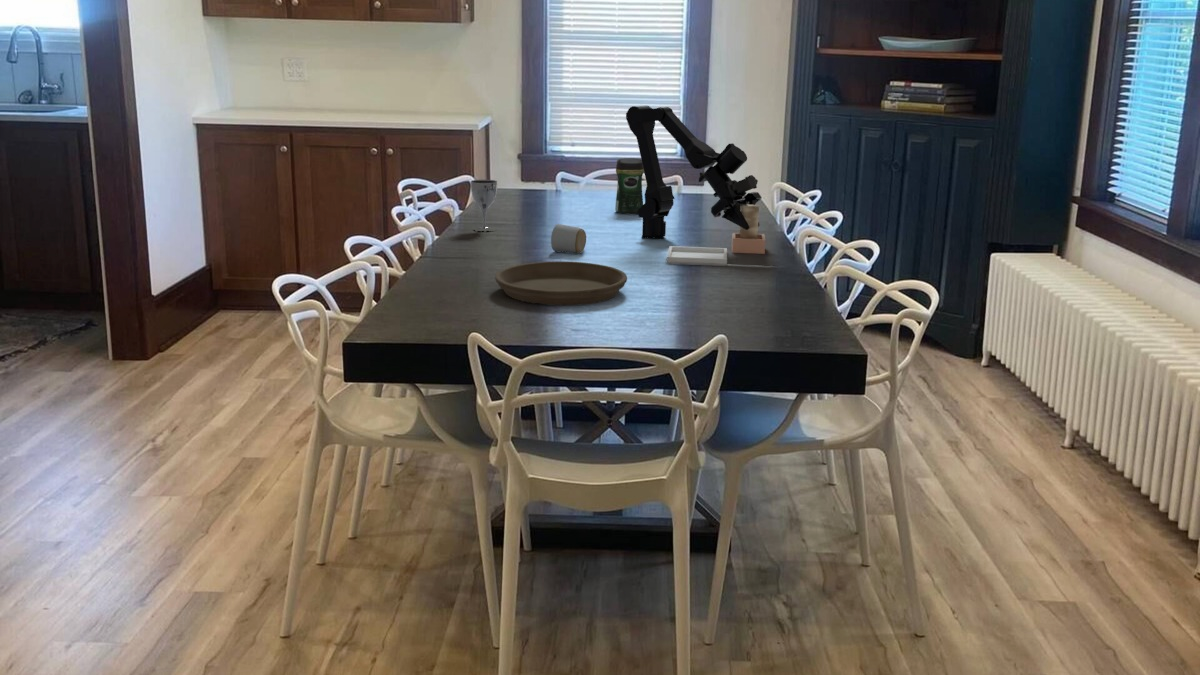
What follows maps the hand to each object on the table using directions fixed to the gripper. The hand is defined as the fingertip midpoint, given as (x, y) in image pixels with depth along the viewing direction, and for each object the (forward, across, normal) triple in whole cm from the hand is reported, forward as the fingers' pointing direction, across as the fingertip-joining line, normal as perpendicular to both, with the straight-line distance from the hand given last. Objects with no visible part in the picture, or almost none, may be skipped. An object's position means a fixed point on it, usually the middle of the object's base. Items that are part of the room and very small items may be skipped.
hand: (753, 227), depth 310 cm
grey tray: (+1, -18, +9) cm, 21 cm away
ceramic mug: (-22, -34, +32) cm, 52 cm away
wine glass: (-51, -26, +62) cm, 84 cm away
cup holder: (+4, 0, +6) cm, 7 cm away
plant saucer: (0, -74, +11) cm, 75 cm away
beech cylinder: (+3, 0, +5) cm, 6 cm away
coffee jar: (-43, +33, +54) cm, 76 cm away
